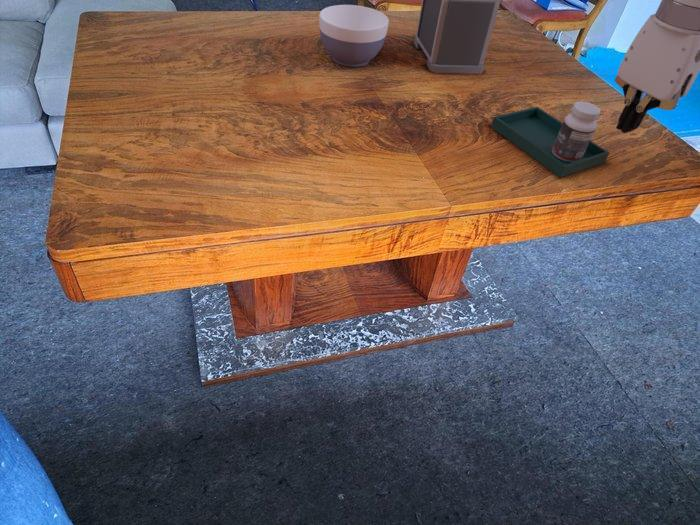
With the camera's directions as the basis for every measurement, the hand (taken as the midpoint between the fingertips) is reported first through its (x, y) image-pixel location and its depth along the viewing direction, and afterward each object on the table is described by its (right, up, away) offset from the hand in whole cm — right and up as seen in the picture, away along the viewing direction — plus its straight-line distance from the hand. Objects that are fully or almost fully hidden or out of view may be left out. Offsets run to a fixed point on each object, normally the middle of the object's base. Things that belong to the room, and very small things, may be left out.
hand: (625, 129), depth 85 cm
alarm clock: (-22, +29, +42) cm, 56 cm away
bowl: (-46, +26, +37) cm, 65 cm away
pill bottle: (-5, -2, +12) cm, 13 cm away
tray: (-7, +1, +15) cm, 17 cm away
